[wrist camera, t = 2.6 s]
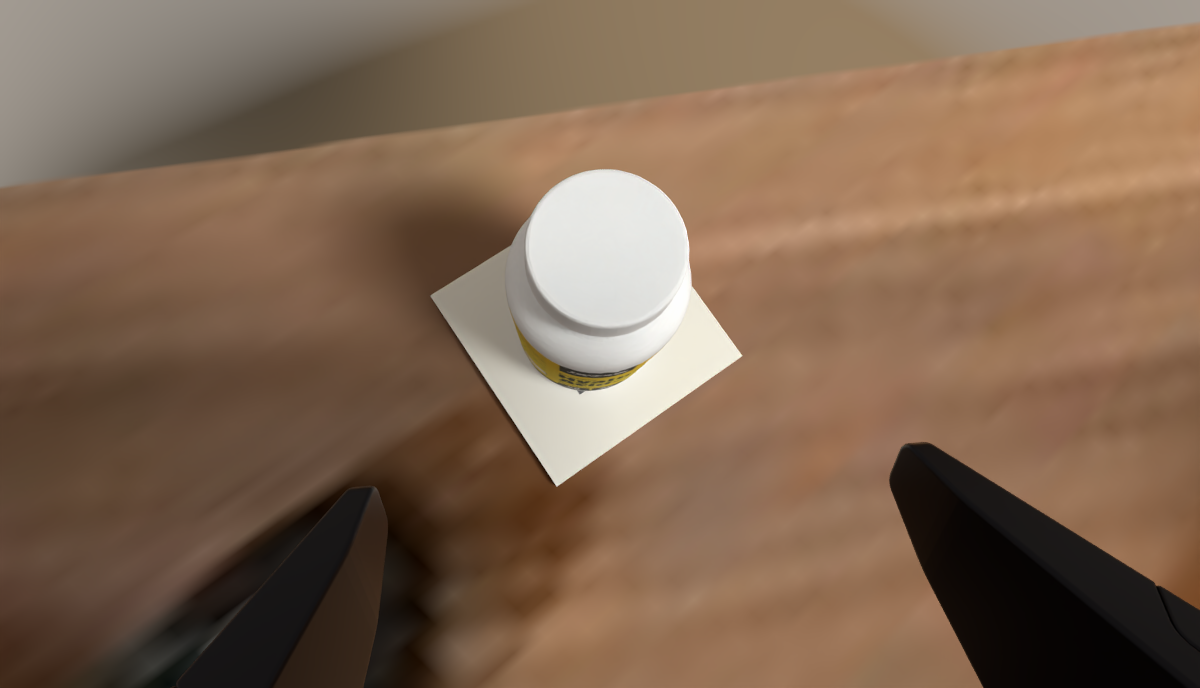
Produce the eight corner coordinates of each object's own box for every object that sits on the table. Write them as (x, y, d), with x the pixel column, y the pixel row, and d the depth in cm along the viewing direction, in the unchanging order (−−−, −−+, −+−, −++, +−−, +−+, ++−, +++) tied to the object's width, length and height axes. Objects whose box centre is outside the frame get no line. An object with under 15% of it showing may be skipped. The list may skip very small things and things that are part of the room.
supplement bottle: (550, 415, 23) (542, 393, 13) (498, 290, 24) (455, 183, 14) (676, 361, 24) (755, 303, 14) (622, 241, 24) (661, 107, 15)
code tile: (740, 356, 24) (742, 355, 24) (556, 486, 23) (556, 486, 22) (614, 183, 25) (615, 179, 25) (431, 297, 24) (430, 295, 23)
